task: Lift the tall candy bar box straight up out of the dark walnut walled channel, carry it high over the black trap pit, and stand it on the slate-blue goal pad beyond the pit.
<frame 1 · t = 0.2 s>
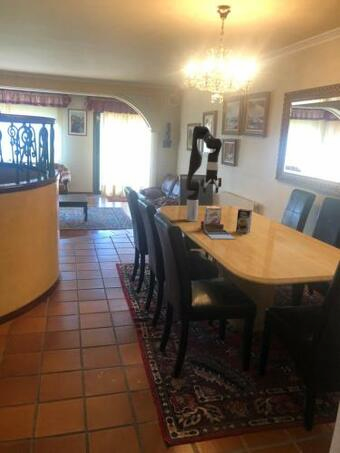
hand: (210, 193, 250), 29 cm above the table, tool pointing down, fingers open, 8 cm apart
goal pad: (221, 237, 249), on the table
walled channel: (211, 229, 270), on the table
candy bar box: (211, 229, 270), on the table
coffee box: (243, 231, 269), on the table
trap pit: (216, 233, 259), on the table
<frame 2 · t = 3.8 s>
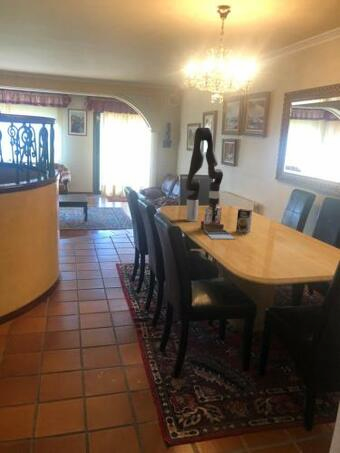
hand: (212, 220, 269), 7 cm above the table, tool pointing down, fingers closed on candy bar box, 5 cm apart
candy bar box: (211, 229, 270), on the table, touching gripper
everything else where it was.
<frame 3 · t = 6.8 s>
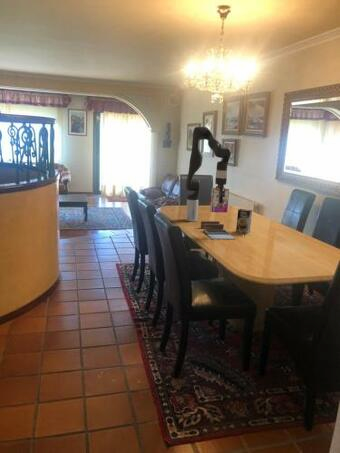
hand: (219, 202, 253), 22 cm above the table, tool pointing down, fingers closed on candy bar box, 5 cm apart
candy bar box: (218, 212, 254), point 15 cm above the table, touching gripper
everything else where it was.
when the fingers open (9 cm above the table, at t = 9.8 s): candy bar box drops 1 cm, resting on goal pad.
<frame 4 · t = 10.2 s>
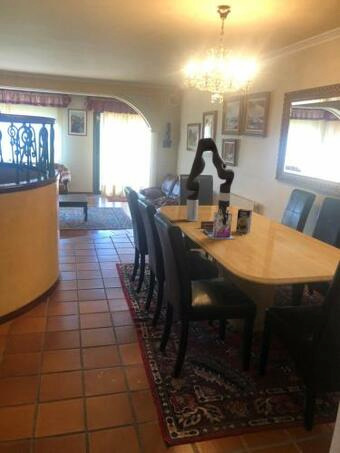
hand: (222, 223, 247), 10 cm above the table, tool pointing down, fingers open, 8 cm apart
candy bar box: (221, 236, 249), resting on goal pad
everything else where it was.
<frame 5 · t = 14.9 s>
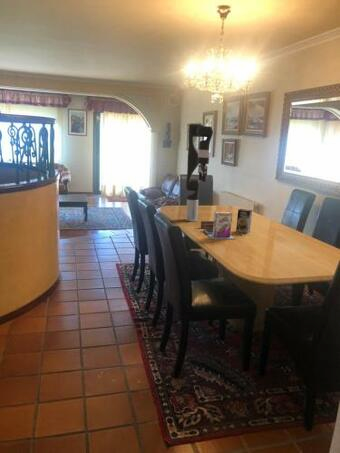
hand: (201, 180, 252), 36 cm above the table, tool pointing down, fingers open, 8 cm apart
nothing on the table moved.
at the end: candy bar box inside the target area on the goal pad (0.1 cm from its centre), point 0.4 cm above the goal pad's base; candy bar box tilted 0°; candy bar box touching goal pad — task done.
